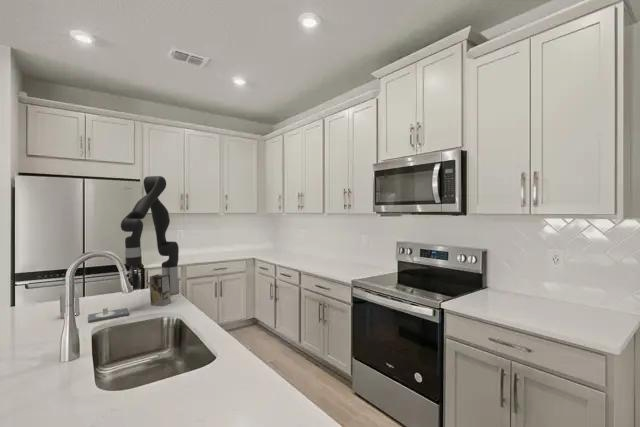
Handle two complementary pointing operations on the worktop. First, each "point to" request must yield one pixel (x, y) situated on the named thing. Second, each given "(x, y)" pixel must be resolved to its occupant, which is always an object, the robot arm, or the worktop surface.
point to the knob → (138, 282)
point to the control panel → (107, 315)
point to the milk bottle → (62, 301)
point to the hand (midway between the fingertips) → (134, 286)
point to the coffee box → (160, 290)
